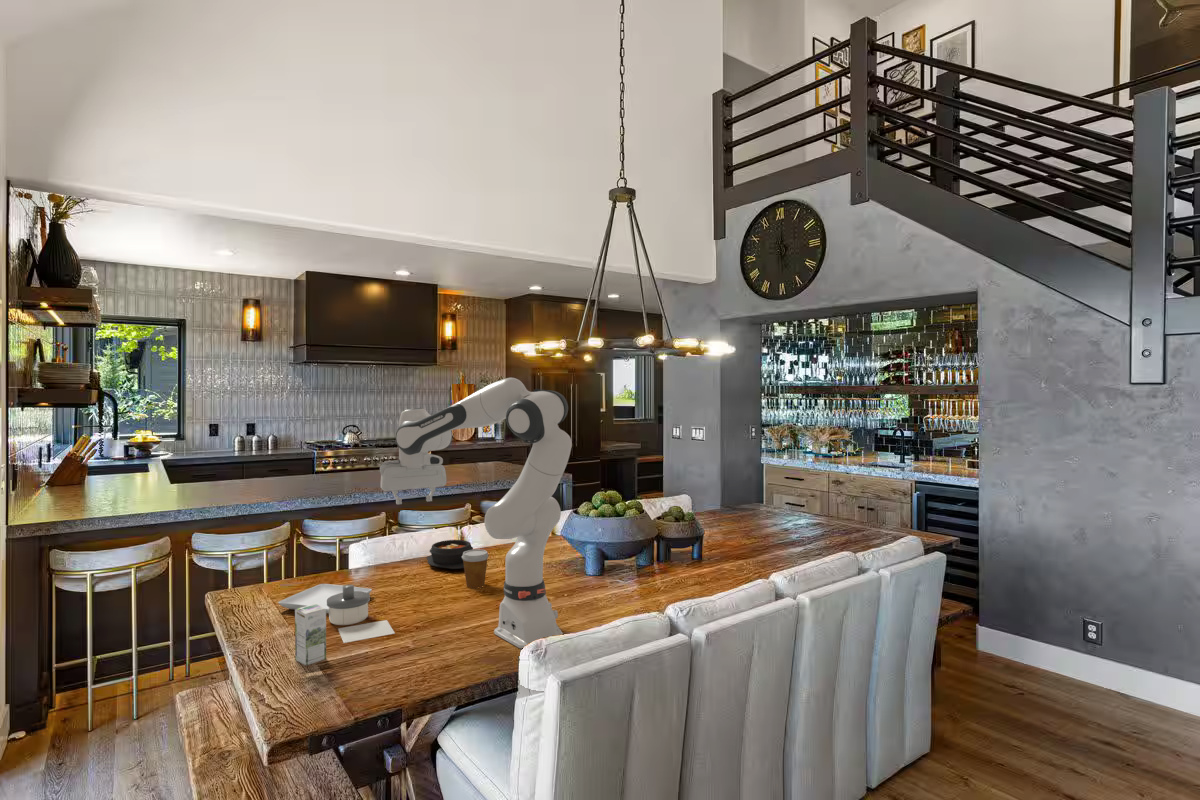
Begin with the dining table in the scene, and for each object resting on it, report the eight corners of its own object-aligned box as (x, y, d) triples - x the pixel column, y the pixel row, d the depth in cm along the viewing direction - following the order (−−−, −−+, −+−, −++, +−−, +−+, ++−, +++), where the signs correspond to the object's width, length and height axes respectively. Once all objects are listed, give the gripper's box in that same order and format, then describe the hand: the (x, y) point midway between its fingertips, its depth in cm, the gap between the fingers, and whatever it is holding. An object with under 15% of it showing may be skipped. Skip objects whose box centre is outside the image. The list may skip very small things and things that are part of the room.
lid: (373, 604, 200) (372, 588, 200) (329, 611, 194) (329, 595, 194) (366, 592, 211) (365, 577, 211) (324, 599, 205) (324, 583, 205)
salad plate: (373, 597, 226) (373, 587, 226) (332, 619, 206) (332, 608, 205) (321, 592, 232) (321, 582, 232) (276, 612, 211) (276, 602, 211)
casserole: (488, 567, 260) (488, 546, 260) (446, 576, 248) (446, 554, 247) (456, 554, 279) (456, 534, 278) (415, 563, 266) (415, 542, 266)
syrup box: (316, 655, 178) (315, 602, 178) (327, 661, 174) (326, 607, 174) (295, 662, 174) (293, 608, 173) (306, 668, 170) (305, 613, 169)
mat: (395, 635, 191) (394, 633, 191) (343, 645, 184) (343, 642, 184) (386, 622, 202) (386, 619, 202) (337, 631, 195) (337, 628, 195)
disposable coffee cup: (491, 581, 241) (491, 549, 241) (484, 590, 232) (484, 556, 231) (466, 581, 242) (466, 548, 242) (458, 589, 233) (458, 555, 232)
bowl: (370, 623, 201) (369, 604, 201) (332, 630, 196) (331, 610, 196) (364, 612, 210) (363, 593, 210) (327, 618, 205) (327, 599, 205)
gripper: (381, 462, 201) (382, 507, 202) (447, 458, 211) (448, 501, 212) (377, 460, 207) (378, 504, 207) (442, 456, 217) (442, 498, 217)
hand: (414, 502), depth 210 cm, fingers open, 8 cm apart
